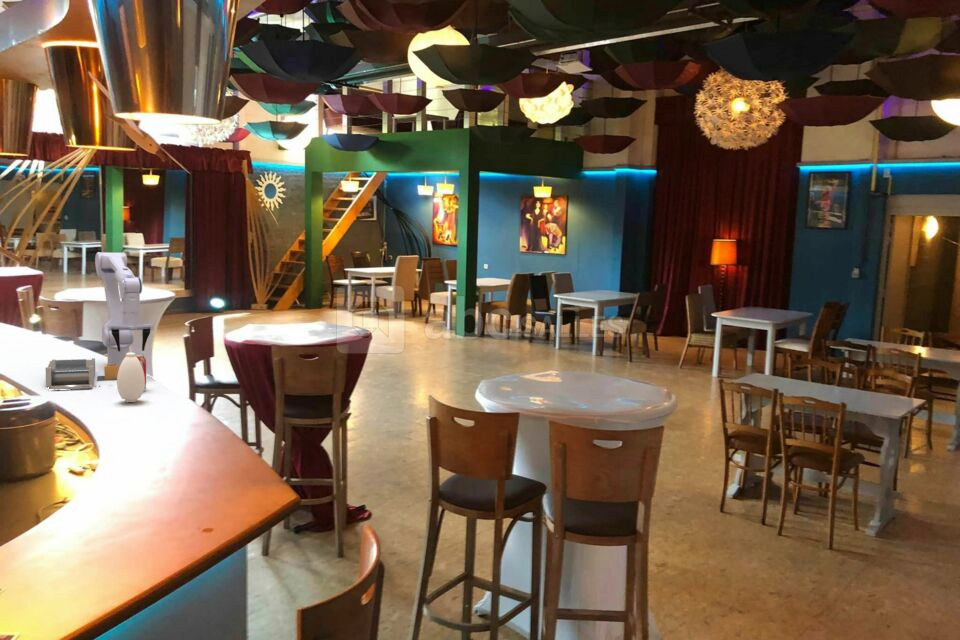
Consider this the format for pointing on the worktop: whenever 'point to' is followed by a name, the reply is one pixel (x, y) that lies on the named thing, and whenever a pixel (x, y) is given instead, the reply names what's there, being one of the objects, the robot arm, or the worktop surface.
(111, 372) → the module
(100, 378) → the mat
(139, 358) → the soda can
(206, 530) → the worktop surface
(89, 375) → the case
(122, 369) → the egg-shaped bottle
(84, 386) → the rod
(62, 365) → the lid
